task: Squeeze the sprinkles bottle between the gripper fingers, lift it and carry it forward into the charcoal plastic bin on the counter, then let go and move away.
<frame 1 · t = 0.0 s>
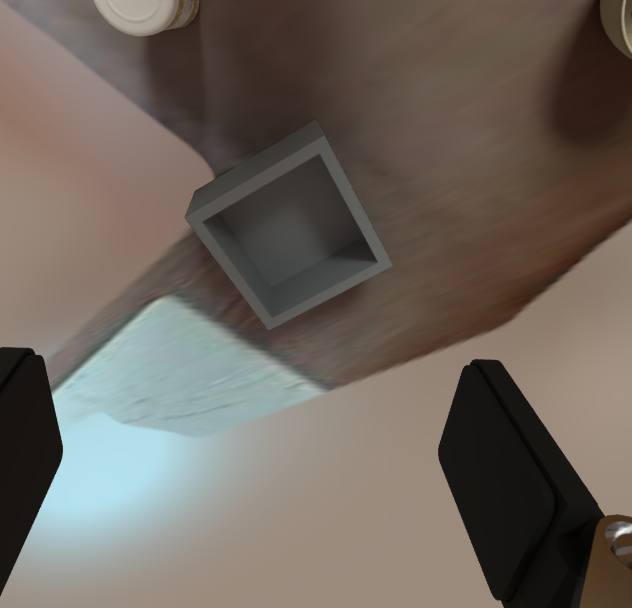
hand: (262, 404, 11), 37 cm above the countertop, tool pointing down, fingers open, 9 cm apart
bin: (289, 214, 48), on the countertop
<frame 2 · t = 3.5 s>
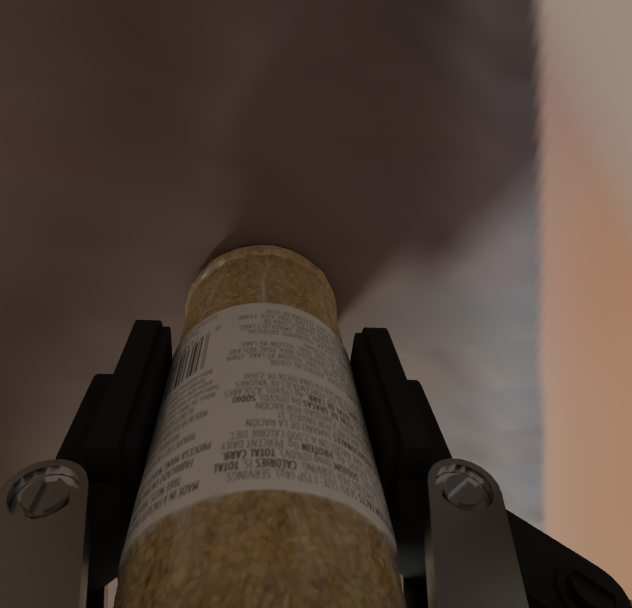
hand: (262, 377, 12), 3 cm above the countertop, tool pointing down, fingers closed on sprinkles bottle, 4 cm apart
sprinkles bottle: (262, 303, 15), on the countertop, touching gripper
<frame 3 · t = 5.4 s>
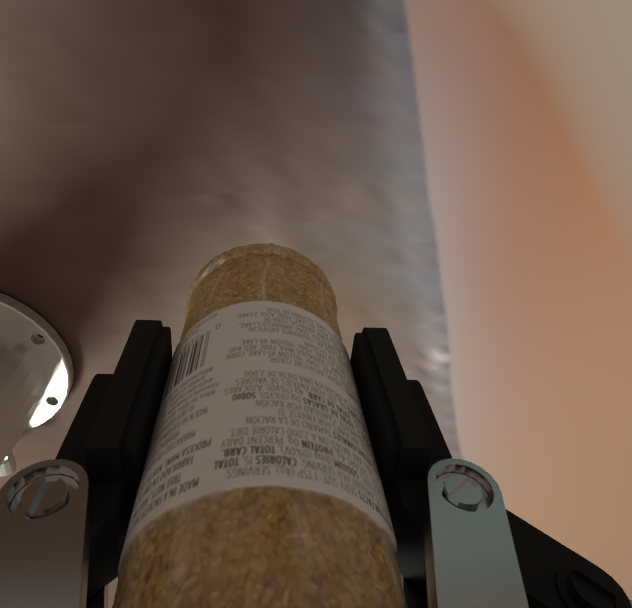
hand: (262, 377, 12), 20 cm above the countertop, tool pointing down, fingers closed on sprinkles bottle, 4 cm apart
sprinkles bottle: (262, 302, 15), point 16 cm above the countertop, touching gripper
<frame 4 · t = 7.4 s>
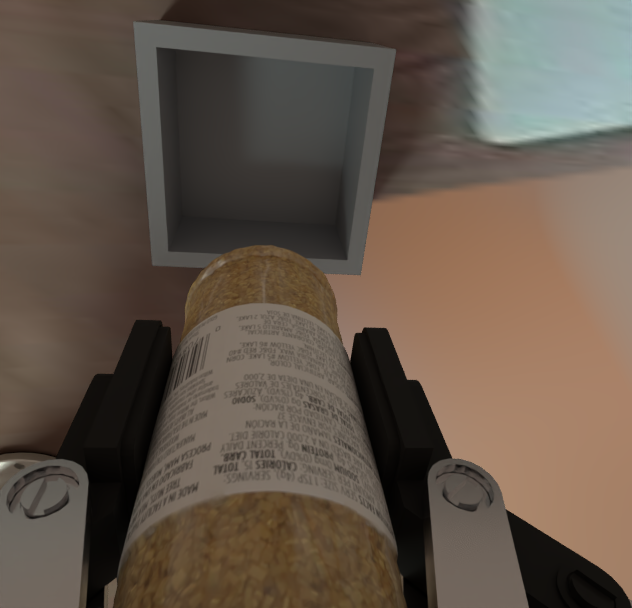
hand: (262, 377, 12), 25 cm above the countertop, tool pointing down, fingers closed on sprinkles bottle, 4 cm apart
sprinkles bottle: (262, 304, 15), point 22 cm above the countertop, touching gripper
bin: (263, 139, 34), on the countertop
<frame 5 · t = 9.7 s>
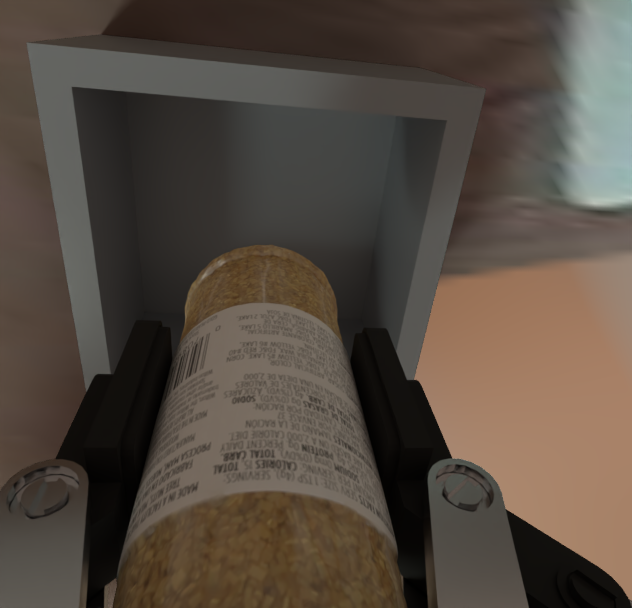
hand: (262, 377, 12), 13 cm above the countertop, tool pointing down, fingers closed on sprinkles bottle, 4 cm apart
sprinkles bottle: (262, 303, 15), point 9 cm above the countertop, touching gripper
bin: (260, 205, 23), on the countertop
when the fingers open (6 cm above the countertop, at t = 11.4 s): sprinkles bottle drops 2 cm, resting on bin.
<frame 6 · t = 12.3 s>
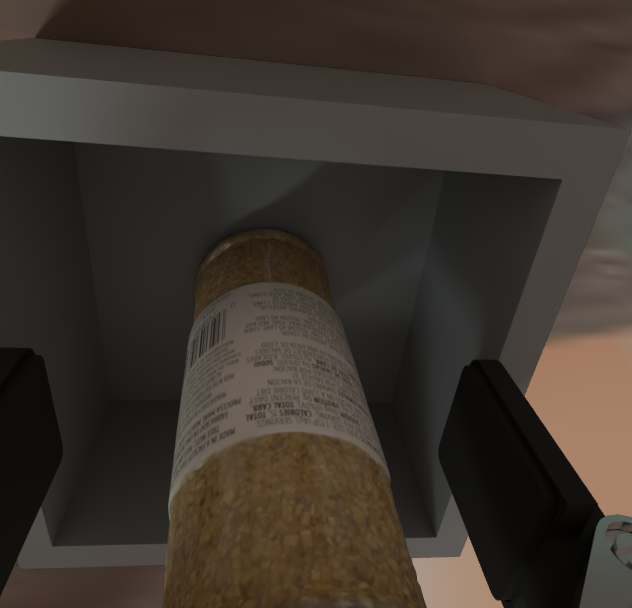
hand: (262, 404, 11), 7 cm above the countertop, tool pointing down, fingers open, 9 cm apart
sprinkles bottle: (262, 281, 17), point 1 cm above the countertop, touching bin
bin: (262, 264, 17), on the countertop
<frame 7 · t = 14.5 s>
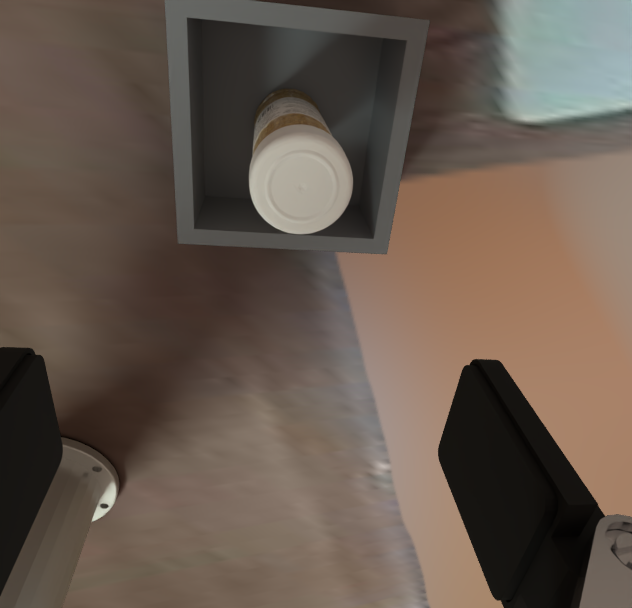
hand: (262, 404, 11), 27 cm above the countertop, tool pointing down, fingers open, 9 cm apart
sprinkles bottle: (288, 122, 33), point 1 cm above the countertop, touching bin
bin: (287, 117, 33), on the countertop
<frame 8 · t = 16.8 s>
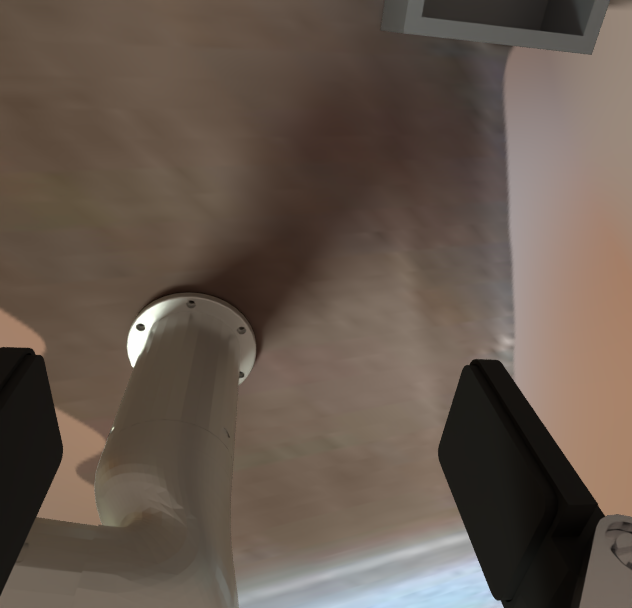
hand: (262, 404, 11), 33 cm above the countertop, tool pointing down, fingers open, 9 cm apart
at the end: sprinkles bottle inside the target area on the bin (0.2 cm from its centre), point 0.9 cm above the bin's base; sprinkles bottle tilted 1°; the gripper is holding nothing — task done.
